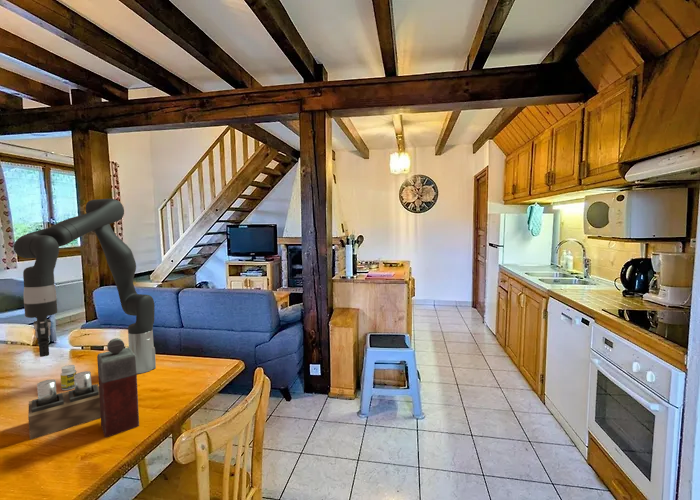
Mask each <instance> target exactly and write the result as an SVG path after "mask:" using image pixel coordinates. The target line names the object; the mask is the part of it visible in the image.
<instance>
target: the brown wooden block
mask: <svg viewBox="0 0 700 500" xmlns="http://www.w3.org/2000/svg"><path fill="white" fill-rule="evenodd" d="M91 386H92V393H88V394H84V395H81V396H77V397H76V396H75V389H70V390H67V391H65V392H59V393H57V402H54V403H50V404H47V405H43V406H39V405H38V398H37V399H36V398H35V399H32V400H30V401H28V411H27V413H28V415H27V416H28V417H27V419H28V430H29V431H28V432H29V440H33V439H37V438H40V437H43V436H47V435H49V434H53V433H57V432H60V431H62V430H66V429H70V428H73V427H75V426H78V425H82V424H85V423H86V424H87V423H89V422H93V421H95V420H98V419H101V414H100V396H99V383H96V384H91Z"/></svg>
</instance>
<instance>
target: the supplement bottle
mask: <svg viewBox="0 0 700 500" xmlns="http://www.w3.org/2000/svg"><path fill="white" fill-rule="evenodd" d="M75 368H76V366H75V365H74V364H68V365H65V366H62V367H61V372H60V387H61V390H62V391H71V390H74V389H75V384H74V375H75V374H77V370H76V369H75Z"/></svg>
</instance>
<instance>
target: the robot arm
mask: <svg viewBox="0 0 700 500" xmlns="http://www.w3.org/2000/svg"><path fill="white" fill-rule="evenodd" d="M124 216H125V208H124V205H123V204H122V203H121V201H119V200H118V199H114V198H99V199H91V200H88V202H86V205H85V213H84V214H81V215H77V216H73V217H70V218H67V219H64V220H61V221H59V222H58V223H55V224H53V225H50V226H49V227H47V228H43V229H39V230H36V231H32V232H28V233H26V234H23V235H22V236H20V237H19V238H17V239H16V241H15V242H14V244H13V251H14V253H15V254H16V255H17V256H18V257H21V258H22V259H23V258H25V259H35V261H34V265H32V266H28V267H26V268H24V270H23V272H22V273H23V274H22V275H23V276H22V278H23V307H24V316H25V318H29V319H34V318H36V321H35V320H34V321H33V329H34V331H35V332H34V333H35V334H34V336H35V338H36V339H37V345H38V348H39V349H38V351H39V353H38V354H39V357H41V358H43V357H48V356H49V355H50V345H49V344H50V336H51V327H52V322H51V319H48V317H50V316H53V315H56V314H57V313H58V300H57V299H58V298H57V291H56V289H57V288H56V285H55V274H54V272H55V268H56V264H57V260H58V256H59V254H60V247H63V246H66V245H68V244H70V243H72V242H74V241H75V240H77V239H78V238H81V237H83V236H84V235H87V234H88V233H91V232H93V231H94V233H95V235H96V237H97V240H98V241H99V243H100V246H101V248H102V252H103V253H104V257H105V260H106V263H107V265H108V268H109V270H110V272H111V274H112V278H113V280H114V283H115V285H116V286H115V287H116V289H117V293H118V297H119V301H120V306H121V308H122V310H123V312H124V314H126V315H128V316H133V317H134V316H135V322H133V323H132V324H129V325H128V327H127V336H128V348H130V349H131V350H132V352H133V353H134V354H135V356H136V371H137V375H138V374H145V373H147V372H150V371H152V370H154V369H157V366H156V362H157V361H156V348H155V346H154V332H153V331H154V328H153V327H154V324H155V306H156V305H155V300H154V298H153V297H152V295H150V294H140V293H139V294H138V293H137V290H136V289H135V286H134V284H135V283H134V277H135V274H136V270H137V263H136V260H135V257H134V254H133V251H132V249H131V248H130V247H129V246H128V245H127V244H126V243H125V242H124V241H123V240H122V239H121V238H120V237H119V236H118V235H117V234H116V233H115V232H114V230H113V228H112V226H111V224H113V223H117V222H119V221H120V220H122V218H123V217H124Z"/></svg>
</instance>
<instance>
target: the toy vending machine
mask: <svg viewBox="0 0 700 500" xmlns="http://www.w3.org/2000/svg"><path fill="white" fill-rule="evenodd" d="M106 345H107V346H106V347H107V350H108V351H105V352H100V353H98V354H97V359H96V361H97V374H98V375H97V376H98V386H99V396H100V414H101V418H100V426H101V429H102V432H103V435H104V438H108V437H111V436H114V435H117V434H119V433H120V434H121V433H123V432H126V431H128V430H132V429H134V428H138V427H140V416H139V396H138V394H139V393H138V376H137V375H138V374H137V371H136V356H135V354H134V353H133V352H132V350H131V349H130V348H129V347H125V342H124V341H123V340H122V339H121V338H118V337H117V338H112V339H111V340H108V342H107V344H106Z"/></svg>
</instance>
